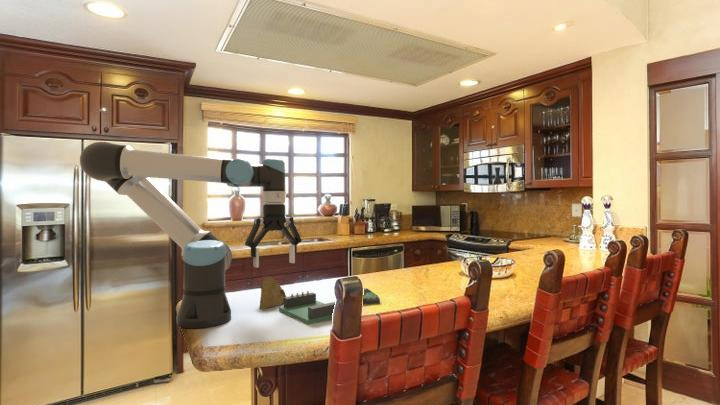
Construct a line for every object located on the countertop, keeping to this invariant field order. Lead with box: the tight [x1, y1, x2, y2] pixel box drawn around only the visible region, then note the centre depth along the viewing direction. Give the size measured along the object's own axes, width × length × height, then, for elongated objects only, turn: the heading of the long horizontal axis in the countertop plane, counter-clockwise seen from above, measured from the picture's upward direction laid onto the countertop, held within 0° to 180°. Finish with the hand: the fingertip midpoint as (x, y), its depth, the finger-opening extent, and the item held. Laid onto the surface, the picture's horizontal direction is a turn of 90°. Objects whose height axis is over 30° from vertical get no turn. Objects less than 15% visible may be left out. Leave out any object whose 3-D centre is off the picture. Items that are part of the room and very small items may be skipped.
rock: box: [259, 276, 287, 310], centre depth 127 cm, size 11×9×10 cm
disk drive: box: [362, 287, 381, 306], centre depth 135 cm, size 10×3×15 cm
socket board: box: [278, 290, 336, 326], centre depth 117 cm, size 14×18×5 cm
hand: (274, 264), depth 128 cm, fingers open, 13 cm apart
